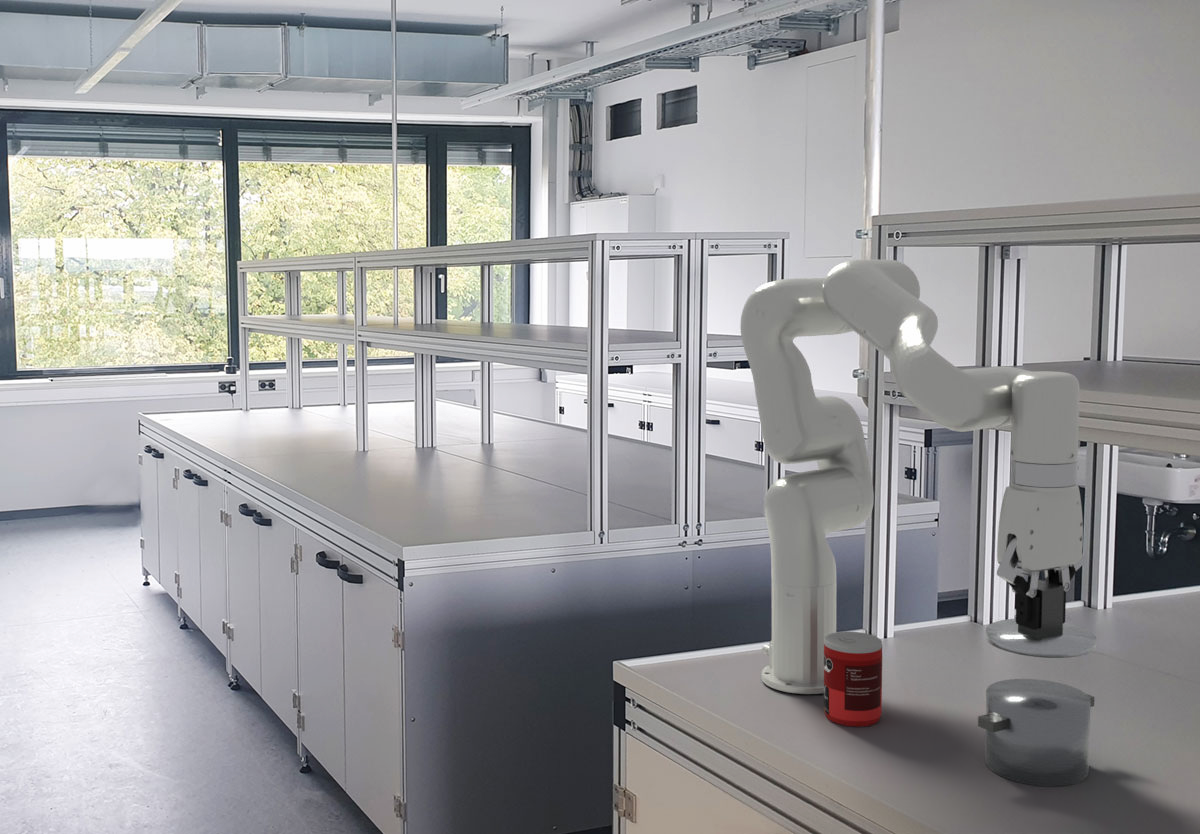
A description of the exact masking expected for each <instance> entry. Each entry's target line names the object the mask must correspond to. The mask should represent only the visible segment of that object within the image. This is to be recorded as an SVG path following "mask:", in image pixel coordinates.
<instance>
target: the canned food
mask: <svg viewBox="0 0 1200 834" xmlns="http://www.w3.org/2000/svg"><path fill="white" fill-rule="evenodd" d="M882 692H883V641H882V640H881V638H879V637H877V636H876V635H872V634H870V633H865V632H859V631H836V633H832V634H829V635H827V636H826V637H825V639H824V693H823V710H824V711H823V712H824V714H825V717H826V718H827V719H828V720H829V721H830V722H832V723H835V724H836V725H840V724H841V726H844V725H845V727H852V726H855V727H856V728H862V727H863V726H864V727H870V726H873V725H876V724H877V723H879V721H880V720H881V717H882V708H883V707H882V705H883V704H882V703H883V702H882V701H883V699H882V698H883V693H882ZM869 725H870V726H869ZM861 726H862V727H861Z"/></svg>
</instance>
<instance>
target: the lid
mask: <svg viewBox="0 0 1200 834" xmlns="http://www.w3.org/2000/svg"><path fill="white" fill-rule="evenodd" d="M1036 596H1038V597H1040V615H1039V628H1038V629H1035V630H1033V629H1030V628H1027V627H1024V626H1021V625H1018V624H1017V623H1016V618H1008V619H1007V618H1006V619H1001V620H997V621H994V622H991V623H990V624H988V625H987V626H986V627H985V639H986V641H987V643H989V644H990V645H991V646H993V647H995V648H997V649H998V650H999V649H1000V650H1002V651H1005V652H1009V653H1012V654H1017V655H1020V656H1027V657H1034V658H1045V659H1046V658H1047V659H1068V658H1076V657H1081V656H1085V655H1089V654H1091V653H1092V652H1094V651H1095V650H1096V648H1097V636H1096V634H1095V633H1093V631H1091V630H1089V629H1087V628H1085V627H1083V626H1080V625H1076V624H1073V623H1068V622H1065V623H1063V601H1064V586H1060V585H1057V584H1053V583H1049V582H1046V581H1045V580H1042V579H1038V585H1037V593H1036Z"/></svg>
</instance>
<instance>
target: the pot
mask: <svg viewBox="0 0 1200 834" xmlns="http://www.w3.org/2000/svg"><path fill="white" fill-rule="evenodd" d="M985 692H986V694H985V714H982V715H978V717H977V726H978V727H979V728H981V729H984V731H985V737H984V739H985V740H984V741H985V742H984V762H985V765H986V767H987V768H988V770H990V771H991V772H993V773H994V774H996V775H998V776H999V777H1002V778H1004V779H1006V780H1010V781H1013V782H1016V783H1021V784H1024V785H1030V786H1036V787H1038V786H1039V787H1050V788H1051V787H1054V788H1055V787H1063V786H1064V787H1067V786H1072V785H1075V784H1079V783H1081V782H1083V781H1084V780H1086V778H1087V777H1088V776H1089V768H1090V767H1089V765H1090V763H1089V761H1090V734H1091V733H1090V732H1091V731H1090V730H1091V708H1092V707H1093V708H1094V706H1095V696H1093V695H1091V694H1087V693H1085V692H1084V691H1083V690H1080V689H1079V688H1076V687H1073V686H1071V685H1069V684H1064V683H1060V682H1057V681H1052V680H1051V681H1050V680H1045V679H1038V678H1037V679H1036V678H1013V679H1011V678H1009V679H1004V680H1000V681H996V682H994V683H992V684H989V685H988V686H987V688H986V691H985Z"/></svg>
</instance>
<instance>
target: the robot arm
mask: <svg viewBox="0 0 1200 834" xmlns="http://www.w3.org/2000/svg"><path fill="white" fill-rule="evenodd" d="M920 295H921V287H920V281H919V280H918V277H917V275H916V274H915V272H914V271H913V269H912V268H911V267H909V266H908V265H906V264H905V263H903V262H901V261H899V260H895V259H854V260H853V259H852V260H848V261H843V262H841V263H839V264H837V265H835V266H834V267H833V268H832V269H830V270H829V272H828V273H827V274H826V275H825V277H822V278H819V277H818V278H806V277H805V278H804V277H803V278H802V277H801V278H785V279H784V278H783V279H778V280H773V281H770V282H766V283H764V284H762V285H760V286H759V287H757V288H756V289H755V290H753V291H752V293H750V295H749V296H748V298H747V299H746V301H745V304H744V305H743V308H742V312H741V316H740V326H739V327H740V338H741V341H742V345H743V348H744V352H745V356H746V358H747V362H748V364H749V368H750V372H751V376H752V380H753V385H754V393H755V399H756V403H757V410H758V416H759V423H760V428H761V433H762V439H763V444H764V447H765V450H766V452H767V454H768V456H769V457H770V458H771V459H772V460H773V461H775V462H777V463H778V464H783V465H791V464H792V465H793V464H794V465H795V464H804V463H811V462H817V467H818V468H817V469H813V470H807V471H801V472H795V473H791V474H788V475H785V476H783V477H781V478H779V479H777V480H776V481H775V482H773V483H772V484H771V485H770V487H769V488H768V490H767V491H766V494H765V496H764V505H763V507H764V515H765V521H766V527H767V532H768V537H769V545H770V558H771V559H770V561H771V563H770V564H771V565H770V567H771V572H770V574H771V575H770V576H771V577H770V578H771V640H770V642H769V645H767V644H764V645H763V646H762V649H761V650H762V651H761V652H762V653H763V654H765V655H767V656H769V658H768V659H769V660H768V661H769V662H768V665H766V666H765V667H763V668H762V670H761V681H762V682H763V683H764V684H765V686H768V687H769V688H772V689H773V690H777V691H780V692H783V693H784V692H785V693H790V694H799V695H819V694H820V695H821V694H824V639H825V637H826V636H827V635H829V634H832V633H836V632H837V565H836V564H837V562H836V559H835V556H834V554H833V551H832V549H831V547H830V545H829V543H828V541H827V538H826V535H828V534H830V533H831V534H832V533H835V532H840V531H845V530H850V529H852V528H856V527H858V526H861V525H862V524H863V523H865V522H866V521H867V520H868V519H869V518H870V516H871V514H872V511H873V509H874V508H873V507H874V497H875V496H874V495H875V493H874V485H873V480H872V474H871V473H872V472H871V468H870V461H869V458H868V457H869V456H868V455H869V454H868V452H867V445H866V440H865V435H864V430H863V429H864V428H863V424H862V422H861V419H860V417H859V415H858V413H857V411H856V410H855V408H854V407H853V405H851V404H850V403H849V402H848V401H846V400H845V399H844V398H841V397H837V396H833V395H832V396H831V395H827V396H825V395H824V396H816V393H815V391H814V386H813V382H812V381H813V380H812V373H811V369H810V366H809V364H808V362H807V360H806V357H805V356H804V355H803V353H802V351H801V350H800V349H799V348H798V347H797V345H796V344H795V343H794V339H796V338H798V337H799V338H800V337H801V338H802V337H816V336H817V337H818V336H833V335H842V334H846V333H852V332H855V333H856V334H857V335H859V336H860V337H861V338H862V339H863V340H865V341H866V342H867V343H868V344H869V345H871V346H872V347H874V348H875V349H876V350H877V351H878V352H880V353H881V355H883V356H884V357H886V358H887V359H888V361H889V369H890V372H891V375H892V378H893V380H894V382H895V385H896V387H897V388H898V390H899V392H900V394H902V396H904V398H906V400H907V401H908V402H910V403H911V405H913V406H914V407H916V409H918V410H919V411H920V412H921V413H923V414H924V415H925V416H927V417H928V418H929V419H930V420H931V421H933V422H935V423H936V424H937V425H939V426H940V427H943V428H945V429H948V430H950V431H953V432H959V433H960V432H962V433H963V432H964V433H965V432H973V431H978V430H985V429H994V428H1002V427H1009V426H1011V439H1010V440H1011V441H1010V443H1011V445H1010V447H1011V448H1010V483H1009V484H1010V485H1008V486H1006V487H1005V490H1004V492H1003V496H1002V502H1001V507H1000V513H999V521H998V529H997V530H998V531H997V543H996V544H997V545H996V558H997V559H996V561H997V563H998V565H999V566H998V568H997V570H996V575H997V576H998V577H999V578H1001V580H1004V581H1005V582H1007V584H1009V586H1010V587H1011V591H1012V593H1015V619H1016V623H1017V624H1018V625H1021V626H1024V627H1027V628H1030V629H1033V630H1035V629H1038V628H1039V615H1040V597H1038V596H1036V593H1037V585H1038V580H1039V578H1040V577H1039V576H1040V572H1044V581H1046V582H1049V583H1053V584H1057V585H1060V586H1064V601H1063V623H1066V608H1067V606H1066V605H1067V602H1066V601H1067V592H1068V591H1069V590H1070V589H1071V581H1072V579H1073V578H1074V576H1075V574H1076V572H1077V571H1078V570H1079V569H1080V568H1081V567H1082V566H1083V565H1084V564H1085V563H1086V558H1085V556H1084V554H1083V545H1084V544H1083V543H1084V541H1083V540H1084V525H1083V524H1084V523H1083V521H1084V519H1083V510H1082V509H1083V506H1082V500H1081V498H1082V497H1081V493H1080V487H1079V485H1078V472H1079V462H1078V461H1079V432H1080V431H1079V428H1080V426H1079V425H1080V393H1081V392H1080V382H1079V379H1078V377H1076V376H1075V375H1074V374H1071V373H1069V372H1063V371H1046V370H1045V371H1040V370H1039V371H1038V370H1037V371H1032V370H1028V369H1027V370H1026V369H1022V368H1019V367H1014V366H1004V365H1003V366H1001V365H1000V366H991V367H989V366H988V367H987V366H986V367H980V368H979V367H978V368H967V369H966V368H965V369H960V368H959V367H957V366H955V365H954V364H952V363H951V362H950V361H949V360H947V359H946V358H945V357H943V356H942V355H940V354H939V353H938V352H937V351H936V350H935V349H934V348H933V347H931V345H932V343H933V341H934V340H935V337H936V335H937V331H938V327H939V322H938V321H939V320H938V316H937V314H936V313H935V311H934V310H933V309H932V308H931V307H929V306H928V305H927V304H926V303H924V302H923V301H921V300H920ZM1025 575H1027V580H1026V579H1025Z"/></svg>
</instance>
